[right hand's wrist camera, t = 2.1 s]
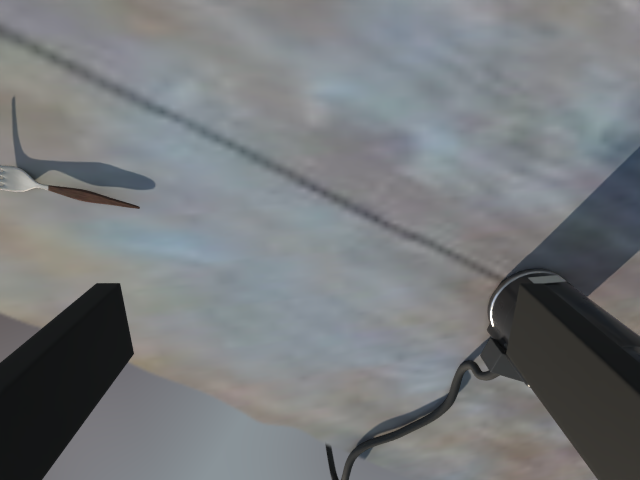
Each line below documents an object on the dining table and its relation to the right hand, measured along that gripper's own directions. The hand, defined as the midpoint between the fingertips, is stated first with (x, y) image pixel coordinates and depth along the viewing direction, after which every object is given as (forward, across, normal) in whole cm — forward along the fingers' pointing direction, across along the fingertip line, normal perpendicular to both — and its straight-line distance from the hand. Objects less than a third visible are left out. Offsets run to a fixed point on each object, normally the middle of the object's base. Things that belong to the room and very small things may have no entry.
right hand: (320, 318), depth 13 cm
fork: (+28, -26, -2) cm, 38 cm away
